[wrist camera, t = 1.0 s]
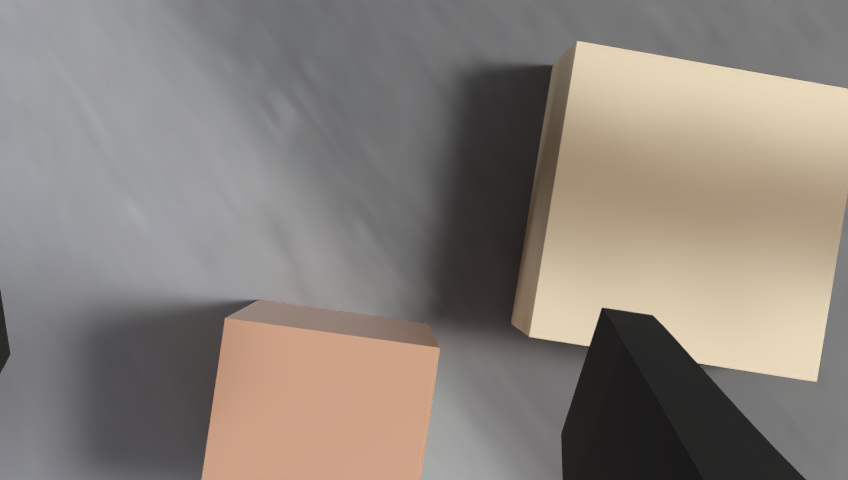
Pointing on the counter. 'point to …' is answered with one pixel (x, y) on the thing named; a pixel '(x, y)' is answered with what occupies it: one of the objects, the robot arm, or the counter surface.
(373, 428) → the terracotta cube
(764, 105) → the oak block
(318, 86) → the counter surface
